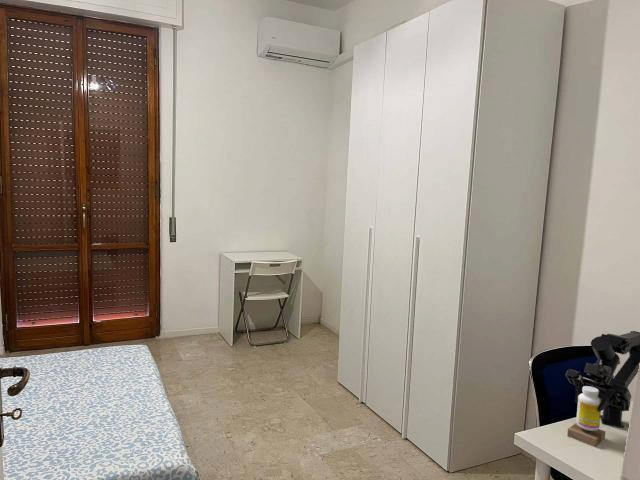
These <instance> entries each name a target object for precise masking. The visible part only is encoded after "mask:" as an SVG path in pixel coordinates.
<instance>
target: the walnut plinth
mask: <svg viewBox="0 0 640 480" xmlns="http://www.w3.org/2000/svg"><path fill="white" fill-rule="evenodd" d="M606 433H607V431H605V430H603V429H600V428H599V429H598V430H596V431H591V430H586V429H583V428H581V427H579V426H578V425H577V423H576V422H575V423H574V424H573V425H572V426H569V427H568V428H567V435H566V436H567V437H569V438H571V439H574V440H576V441H578V442H582V443H584V444H587V445H589V446H592V447H594V448H596V447H597V446H598V445H599V444H601V442H603V441H604V440H605V439H606Z"/></svg>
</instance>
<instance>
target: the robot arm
mask: <svg viewBox="0 0 640 480" xmlns="http://www.w3.org/2000/svg"><path fill="white" fill-rule="evenodd" d="M590 346H591V349H592V350H593V352H594V354H595V356H596V358H597V360H596V362H594V363H590V362H586V364H585V366H584V369H583V370H584V371H583V372H584V373H586V376H587V377H585V376H583V375H582V373H581V371H578V370H574V369H571V368H569V369H567V370H566V372H565V374H564V375H565V377H566V379H567V380H568V382H569V383H570V384H572V385H574V386H575V397H574V398H575V401H574V402H575V404H578V396H579V395H580V394H582V393H583V392H582V387H583V386H585V385H587V386H588V385H589V386H590V387H594V388H597V389H598V390H599V394H598V397H599V398H600V399H601V403H600V405H599V407H598V412H600V411H601V412H602V414H600V422H601V423H602V424H603V425H606V426H612V427H617V428H625V425H624V423H623V421H622V419H623V412H629V411H630V407H631V399H632V394H631V392H630V390H629V388H628V387H629V385H630V384H631V383H632V382H633V380H634V379H635V377H636V376H637V374H639V371H638V369H639V363H640V331H636V330H631V331H630V332H627V333H623V334H620V335H618V334H614V333H607V334H604V333H601V335H600V336H596V337H594V338H592V339H591V341H590ZM618 354H619V355H624V356H625V355H627V354H629V356H628V358H627V359H626V360H625V362H624V363H623V365H622V366H621V367H620V369H619V370H618V372H617V373H616V374H615V372H616V370H617V368H618V365H621V358H620V356H619V355H618ZM614 374H615V375H614Z"/></svg>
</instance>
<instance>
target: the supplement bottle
mask: <svg viewBox="0 0 640 480" xmlns="http://www.w3.org/2000/svg"><path fill="white" fill-rule="evenodd" d="M582 392H583V393H582V394H580V395H579V396H578V403H577V406H576V407H577V408H576V410H577V411H576V420H575V421H576V422H575V423H577V425H578V426H579V427H581V428H583V429H586V430H591V431H596V430H598V429H600V426H601V425H600V424H601V419H600V415H602V414H601V412H602V411H600V412H598V407H599V405H600V403H601V399H600V398H599V397H598V394H599V390H598V388H597V387H594V386H591V385H589V386H588V385H583V387H582Z"/></svg>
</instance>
